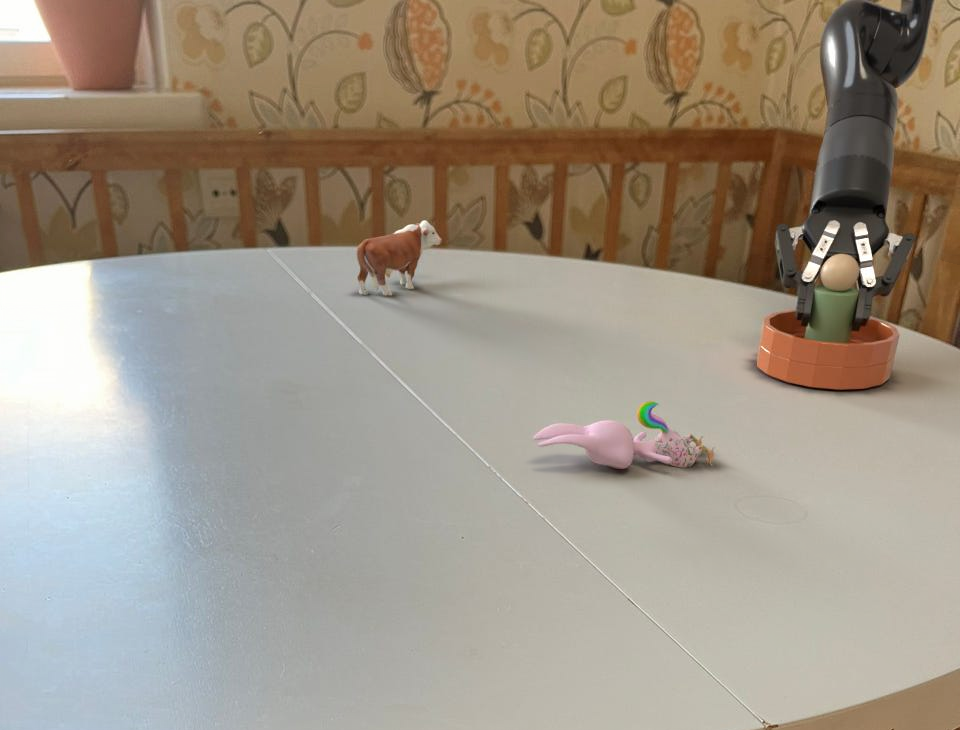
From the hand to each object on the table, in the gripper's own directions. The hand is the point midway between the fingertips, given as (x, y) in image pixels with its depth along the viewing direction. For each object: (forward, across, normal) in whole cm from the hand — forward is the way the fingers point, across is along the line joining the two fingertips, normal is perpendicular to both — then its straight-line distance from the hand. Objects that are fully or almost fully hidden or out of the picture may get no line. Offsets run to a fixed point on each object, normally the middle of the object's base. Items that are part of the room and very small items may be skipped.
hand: (831, 324), depth 104 cm
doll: (+2, 0, +5) cm, 5 cm away
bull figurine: (-10, -53, +19) cm, 57 cm away
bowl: (+3, 0, +5) cm, 6 cm away
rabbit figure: (+25, -16, -17) cm, 34 cm away
